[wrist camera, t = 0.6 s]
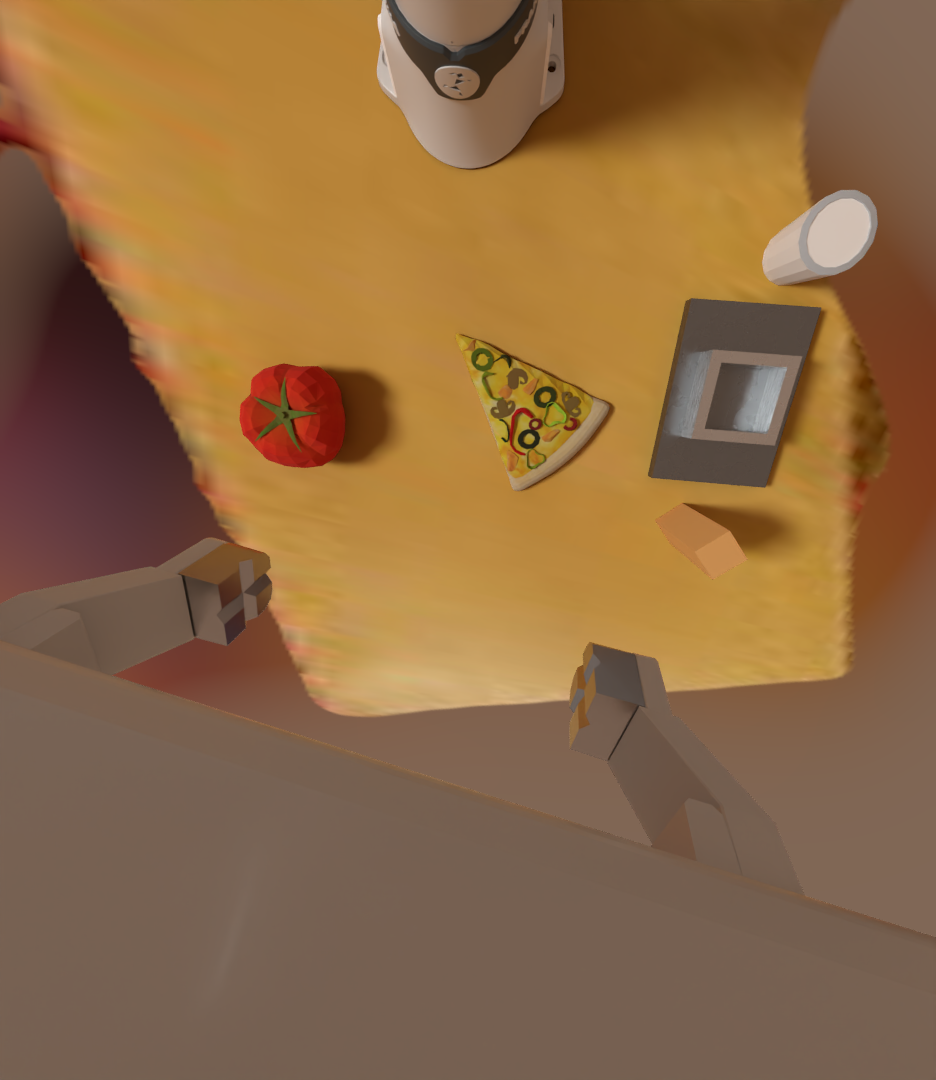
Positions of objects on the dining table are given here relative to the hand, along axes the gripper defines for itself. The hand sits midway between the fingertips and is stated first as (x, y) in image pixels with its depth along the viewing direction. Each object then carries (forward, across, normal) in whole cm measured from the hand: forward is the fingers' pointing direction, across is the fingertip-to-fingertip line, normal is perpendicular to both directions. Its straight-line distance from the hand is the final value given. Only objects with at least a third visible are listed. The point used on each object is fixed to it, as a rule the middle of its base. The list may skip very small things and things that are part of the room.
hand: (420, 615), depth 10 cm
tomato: (+43, +27, +10) cm, 52 cm away
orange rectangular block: (+48, -22, +14) cm, 55 cm away
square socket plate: (+50, -22, -2) cm, 55 cm away
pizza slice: (+48, +2, +3) cm, 48 cm away
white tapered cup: (+54, -23, -17) cm, 61 cm away
